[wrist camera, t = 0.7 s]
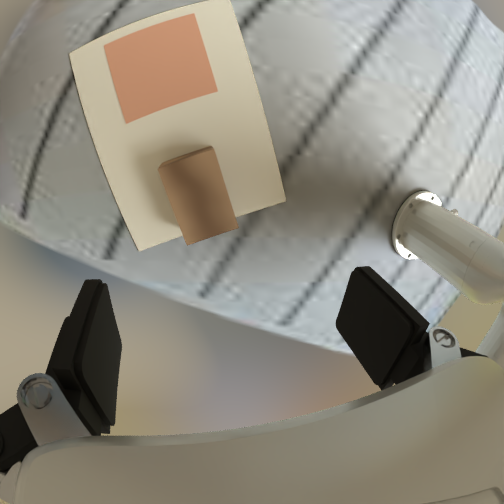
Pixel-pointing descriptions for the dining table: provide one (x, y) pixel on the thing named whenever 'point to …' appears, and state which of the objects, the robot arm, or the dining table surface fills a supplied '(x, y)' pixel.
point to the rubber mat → (176, 112)
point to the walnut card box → (198, 195)
